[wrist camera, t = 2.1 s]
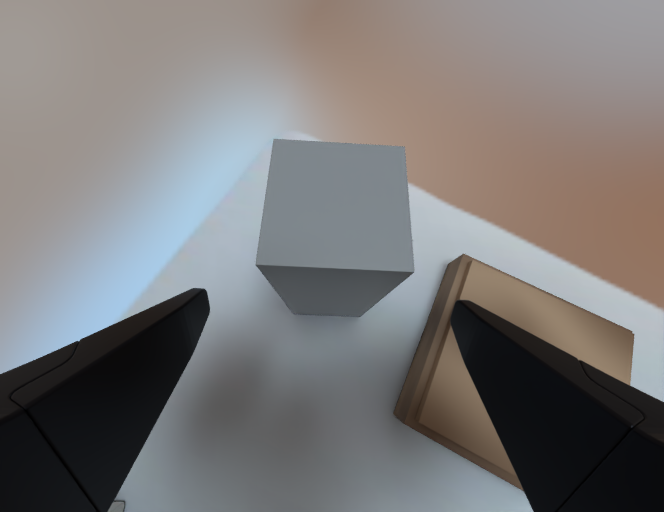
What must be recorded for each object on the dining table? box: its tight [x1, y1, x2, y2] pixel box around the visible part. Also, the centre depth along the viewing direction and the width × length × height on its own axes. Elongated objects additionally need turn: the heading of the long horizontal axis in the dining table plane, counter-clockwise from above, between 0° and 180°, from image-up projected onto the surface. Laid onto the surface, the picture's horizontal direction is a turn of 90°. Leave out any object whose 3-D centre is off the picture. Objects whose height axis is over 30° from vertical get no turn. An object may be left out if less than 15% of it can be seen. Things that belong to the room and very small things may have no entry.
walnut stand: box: [393, 254, 634, 491], centre depth 17 cm, size 12×12×3 cm
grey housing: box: [255, 139, 414, 317], centre depth 15 cm, size 5×5×12 cm
